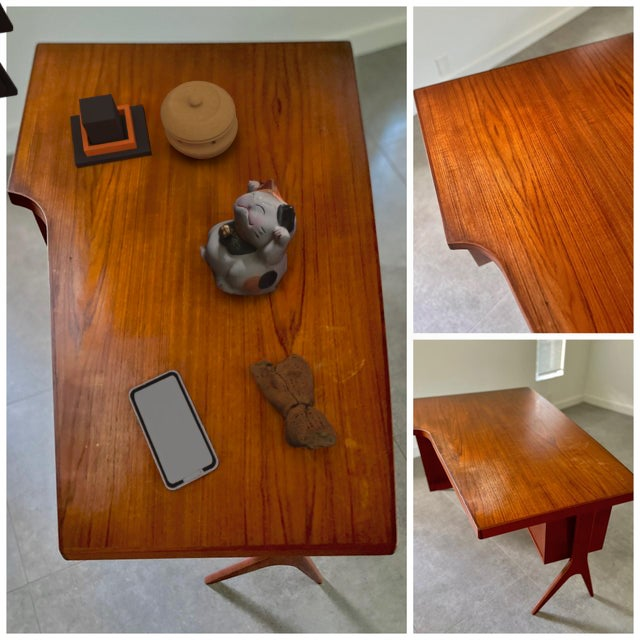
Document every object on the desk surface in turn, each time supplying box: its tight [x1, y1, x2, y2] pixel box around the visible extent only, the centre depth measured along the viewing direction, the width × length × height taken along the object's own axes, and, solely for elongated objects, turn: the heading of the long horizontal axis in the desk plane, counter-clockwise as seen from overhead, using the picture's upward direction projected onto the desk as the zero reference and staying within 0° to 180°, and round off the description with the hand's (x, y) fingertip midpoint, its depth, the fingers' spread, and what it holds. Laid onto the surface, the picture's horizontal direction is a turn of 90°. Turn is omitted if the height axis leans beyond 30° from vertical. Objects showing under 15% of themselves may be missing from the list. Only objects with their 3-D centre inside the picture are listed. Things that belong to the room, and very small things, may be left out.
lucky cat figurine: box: [199, 178, 297, 296], centre depth 76 cm, size 15×12×14 cm
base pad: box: [69, 104, 153, 169], centre depth 88 cm, size 12×10×2 cm
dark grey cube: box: [78, 93, 126, 145], centre depth 85 cm, size 5×5×6 cm
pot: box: [160, 80, 239, 160], centre depth 85 cm, size 12×12×10 cm
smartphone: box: [128, 369, 220, 491], centre depth 71 cm, size 7×1×15 cm
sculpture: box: [248, 353, 338, 451], centre depth 69 cm, size 8×10×15 cm
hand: (2, 62), depth 60 cm, fingers open, 9 cm apart
